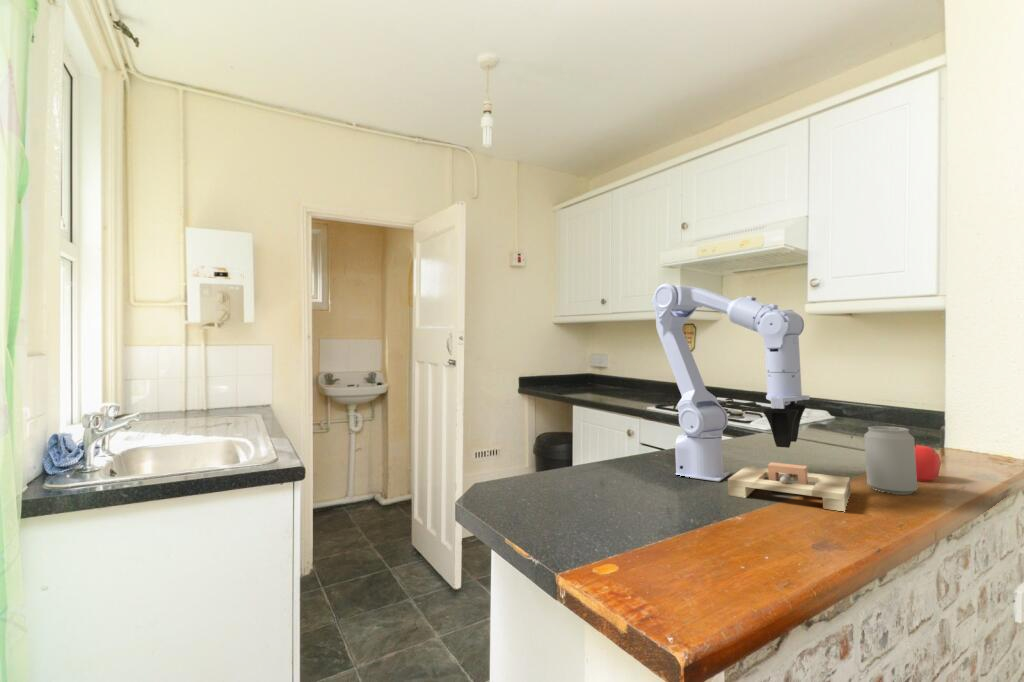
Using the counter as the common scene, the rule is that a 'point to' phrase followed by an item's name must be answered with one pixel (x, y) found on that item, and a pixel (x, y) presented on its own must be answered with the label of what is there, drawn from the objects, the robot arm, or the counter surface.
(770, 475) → the pink arch
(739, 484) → the wooden slotted stand
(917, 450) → the apple
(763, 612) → the counter surface
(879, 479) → the can
